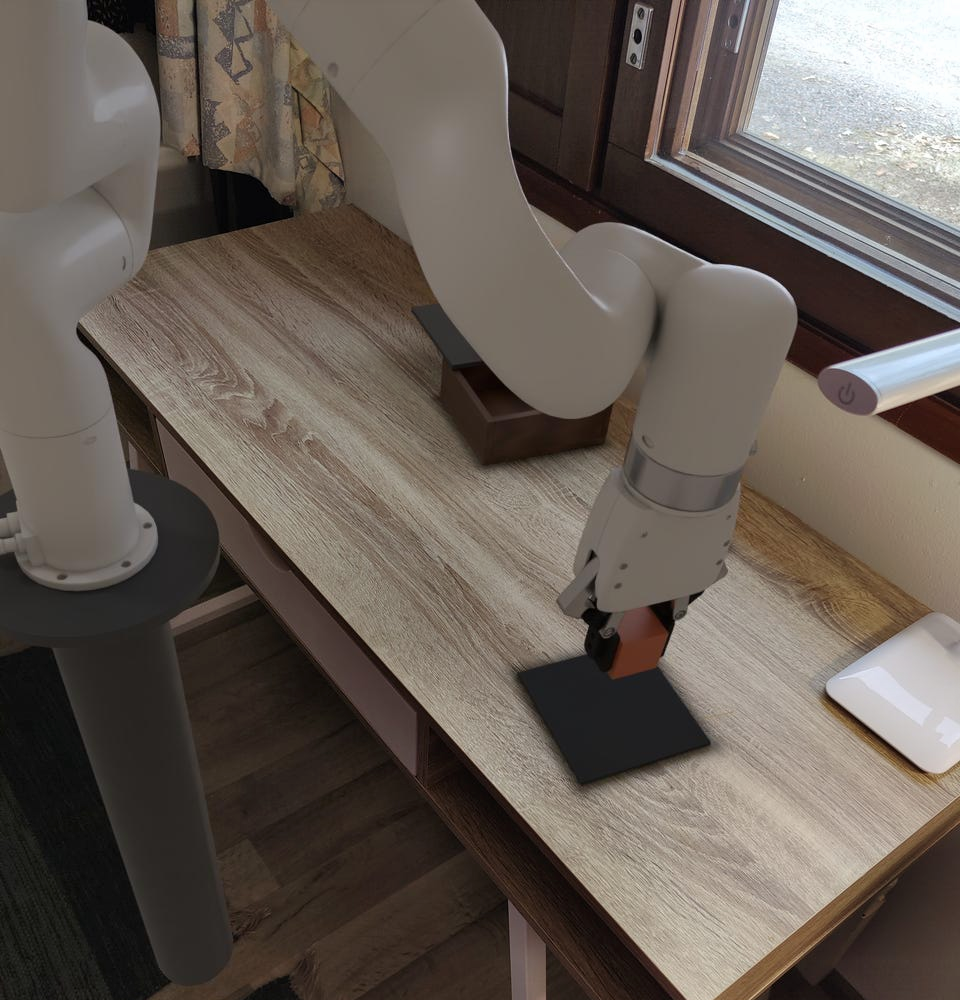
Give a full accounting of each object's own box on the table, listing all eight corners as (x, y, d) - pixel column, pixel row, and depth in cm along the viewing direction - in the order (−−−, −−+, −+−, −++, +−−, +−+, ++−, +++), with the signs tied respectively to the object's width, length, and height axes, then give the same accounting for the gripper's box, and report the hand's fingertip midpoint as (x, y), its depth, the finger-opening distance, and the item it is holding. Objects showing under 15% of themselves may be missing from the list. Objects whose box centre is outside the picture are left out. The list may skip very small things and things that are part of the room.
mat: (580, 786, 77) (581, 783, 76) (517, 675, 84) (517, 672, 84) (710, 745, 81) (711, 742, 80) (638, 643, 88) (639, 639, 88)
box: (483, 465, 103) (488, 422, 100) (439, 399, 111) (442, 357, 107) (604, 443, 108) (614, 401, 104) (555, 381, 116) (561, 339, 112)
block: (612, 680, 76) (623, 645, 73) (588, 643, 78) (598, 607, 75) (656, 668, 77) (669, 633, 74) (632, 632, 79) (643, 597, 77)
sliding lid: (451, 369, 105) (453, 344, 103) (411, 311, 113) (412, 286, 111) (572, 351, 110) (577, 327, 108) (525, 296, 118) (529, 273, 116)
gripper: (757, 412, 69) (688, 597, 82) (542, 449, 63) (507, 641, 77) (820, 477, 65) (737, 662, 78) (596, 523, 59) (548, 714, 72)
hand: (623, 650), depth 77 cm, fingers closed on block, 4 cm apart
